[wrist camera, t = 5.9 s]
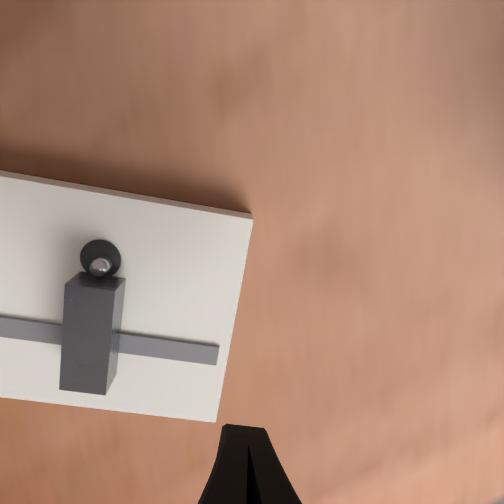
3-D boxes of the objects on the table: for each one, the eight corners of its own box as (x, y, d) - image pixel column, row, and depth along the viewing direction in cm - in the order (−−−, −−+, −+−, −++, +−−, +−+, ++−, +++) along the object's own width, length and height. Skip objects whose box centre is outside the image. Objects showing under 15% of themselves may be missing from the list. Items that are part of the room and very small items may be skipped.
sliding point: (73, 368, 18) (58, 389, 16) (81, 251, 16) (65, 262, 15) (116, 374, 18) (105, 395, 17) (128, 259, 17) (116, 270, 15)
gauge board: (-127, 361, 20) (-160, 381, 18) (-148, 144, 17) (-189, 144, 15) (216, 403, 21) (215, 425, 20) (251, 213, 18) (253, 220, 17)
